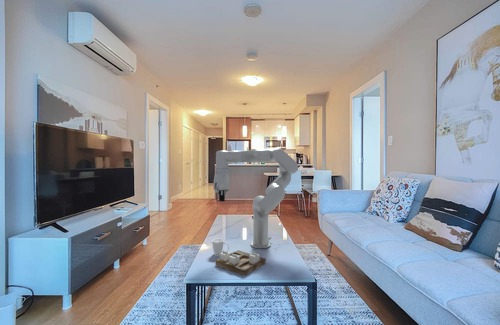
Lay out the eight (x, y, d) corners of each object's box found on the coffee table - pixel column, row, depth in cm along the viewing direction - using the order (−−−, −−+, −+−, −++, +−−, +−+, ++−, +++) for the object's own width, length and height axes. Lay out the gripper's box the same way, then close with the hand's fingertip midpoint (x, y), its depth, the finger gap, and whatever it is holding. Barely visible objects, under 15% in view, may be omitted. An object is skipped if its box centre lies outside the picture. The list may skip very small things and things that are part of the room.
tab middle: (234, 261, 128) (234, 252, 128) (239, 263, 126) (239, 254, 126) (229, 264, 125) (229, 254, 125) (234, 266, 123) (234, 256, 123)
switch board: (238, 254, 142) (238, 249, 142) (265, 263, 131) (265, 258, 130) (215, 265, 128) (215, 259, 128) (243, 276, 116) (243, 269, 116)
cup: (213, 251, 147) (213, 238, 147) (230, 252, 146) (230, 239, 145) (210, 256, 140) (210, 241, 140) (227, 257, 139) (227, 242, 139)
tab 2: (254, 260, 130) (254, 251, 130) (259, 262, 128) (259, 252, 128) (249, 262, 127) (249, 253, 127) (254, 264, 125) (254, 255, 125)
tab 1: (225, 258, 132) (225, 249, 132) (230, 260, 130) (230, 251, 130) (219, 261, 129) (220, 251, 129) (224, 262, 127) (224, 253, 127)
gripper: (226, 170, 160) (225, 199, 160) (208, 171, 148) (208, 202, 148) (234, 171, 155) (234, 200, 155) (217, 171, 143) (217, 203, 144)
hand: (221, 201), depth 152 cm, fingers closed
